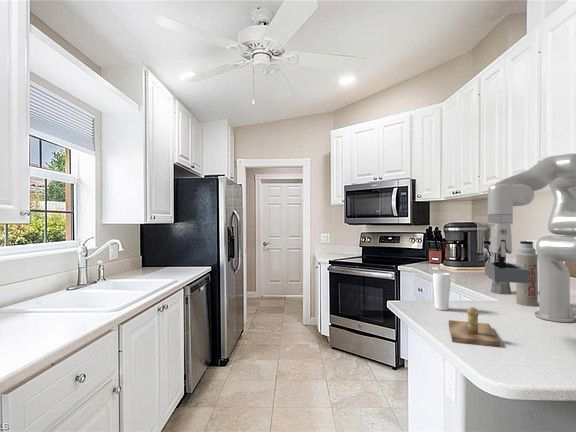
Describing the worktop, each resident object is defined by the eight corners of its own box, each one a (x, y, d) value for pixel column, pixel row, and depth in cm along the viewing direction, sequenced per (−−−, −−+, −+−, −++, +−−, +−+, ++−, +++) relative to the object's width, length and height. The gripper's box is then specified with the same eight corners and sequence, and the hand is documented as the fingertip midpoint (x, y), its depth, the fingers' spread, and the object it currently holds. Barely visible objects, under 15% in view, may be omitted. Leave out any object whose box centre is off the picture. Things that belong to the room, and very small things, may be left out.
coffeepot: (504, 290, 195) (503, 256, 195) (519, 293, 186) (519, 258, 186) (479, 291, 191) (479, 257, 191) (493, 295, 182) (493, 259, 182)
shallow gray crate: (484, 273, 128) (484, 262, 128) (514, 275, 125) (514, 263, 125) (494, 281, 112) (494, 268, 112) (528, 283, 109) (528, 269, 109)
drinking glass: (452, 311, 151) (452, 275, 151) (434, 310, 152) (434, 274, 152) (448, 307, 157) (448, 272, 157) (431, 306, 159) (431, 272, 159)
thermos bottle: (539, 306, 158) (539, 242, 158) (518, 305, 161) (518, 241, 161) (535, 302, 166) (534, 241, 166) (514, 301, 169) (514, 240, 169)
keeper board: (489, 328, 128) (488, 300, 128) (499, 346, 109) (499, 314, 109) (448, 324, 133) (448, 297, 133) (452, 341, 114) (452, 310, 114)
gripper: (518, 220, 117) (518, 277, 117) (507, 220, 132) (506, 271, 132) (492, 219, 120) (491, 276, 120) (483, 220, 134) (483, 270, 134)
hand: (499, 273), depth 126 cm, fingers closed on shallow gray crate, 1 cm apart
